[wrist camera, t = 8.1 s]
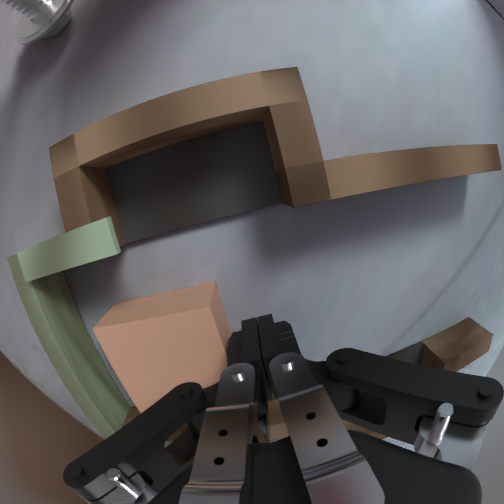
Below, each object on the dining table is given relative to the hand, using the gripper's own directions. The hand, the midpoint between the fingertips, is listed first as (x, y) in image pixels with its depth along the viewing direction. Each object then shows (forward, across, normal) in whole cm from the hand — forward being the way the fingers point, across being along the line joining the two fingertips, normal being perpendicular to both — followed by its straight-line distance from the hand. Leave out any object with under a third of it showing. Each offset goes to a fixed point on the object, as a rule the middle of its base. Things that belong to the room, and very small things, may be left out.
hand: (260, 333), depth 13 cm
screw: (+2, +8, -22) cm, 24 cm away
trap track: (+1, -2, 0) cm, 3 cm away
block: (+2, +5, 0) cm, 5 cm away
